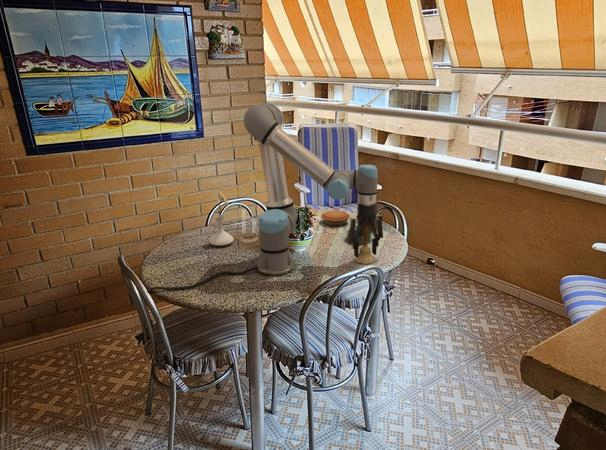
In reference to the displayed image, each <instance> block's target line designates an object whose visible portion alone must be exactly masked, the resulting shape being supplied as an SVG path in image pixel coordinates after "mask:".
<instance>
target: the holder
mask: <svg viewBox="0 0 606 450" xmlns="http://www.w3.org/2000/svg"><path fill="white" fill-rule="evenodd" d="M356 229H357V227H355V231H356ZM349 231H350V228H349V229H347V231H346V241H347V242H348V243H349V244H352V242H350V241H349V240H348V237H349ZM354 234H355V232H354ZM372 236H373V233H372V232H371V231H370V230H369V235H368V238H367V244H369V243H371V242H372ZM363 241H364V238H363V229H362V231H361V233H360V236H359V238H358V241H357V242H358V243H359V245H363Z"/></svg>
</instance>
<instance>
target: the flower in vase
mask: <svg viewBox="0 0 606 450" xmlns="http://www.w3.org/2000/svg"><path fill="white" fill-rule="evenodd" d="M218 195H219V196H220V201H219V203H218V210H217V212H216V215H213V218H214V219H215V221H216V224H217V231H216V232H215V233H214V234H213V235H212V236H211V237H210V238H209V244H211V245H212V246H216V247H224V246H227V245H230V244H232V243H233V242H234V240H235V239H234V237H233V236H232V235H231V234H229V233H227V232H226V231H225V230H224V226H223V224H224V223H223V222H224V218H225V217H226V215H225V214H220V213H222V212H223V208H222V206H221V202H222V201H223V203H224V204H225V205H226V206H230V204H229V201H228V200H227V197H225V195H224V193H222V191H221V190H219V191H218Z"/></svg>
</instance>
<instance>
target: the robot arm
mask: <svg viewBox="0 0 606 450" xmlns="http://www.w3.org/2000/svg"><path fill="white" fill-rule="evenodd" d="M283 122H284V116H283V113H282V110H281V109H280V108H279V107H278V106H277V105H275V104H273V103H269V102H263V103H259V104H254V105H252V106H250V107H249V108H248V109H246V111H245V113H244V115H243V125H244V128H245V130H246V131H247V133H248V134H249V135H251V137H253V140H254V141H255V142H256V143H258V146H259V147H258V148H259V152H260V158H261V164H262V169H263V175H264V181H265V187H266V192H267V199H268V201H267V202H266V204H265V208H266V211H263V212H262V213H261V214H259V216H258V223H257V224H258V234H259V254H258V258H257V262H256V266H254V267H251V268H248V269H245V270H242V271H230V270H229V271H220V272H217V273H214V274H212V275H210V276H209V277H207V278H205V279H203V280H201V281H199V282H197V283H194V284H191V285H185V286H153V287H150V288H148V290H147V291H146V293H147V292H148V293H147V294H149V293H150V292H152V291H155V290H166V291H169V290H170V291H171V290H174V291H175V290H187V289H192V288H196V287H198V286H200V285H202V284H204V283H206V282H208V281H210V280H212V279H214V278H216V277H218V276H220V275H244V274H246V273H248V272H251V271H254V270H257V272H258V273H260V274H261V275H264V276H273V277H274V276H282V275H283V276H284V275H287V274H289V273H291V272H292V271H293V270H294V269H295V262H294V259H293V257H292V256H294V255H295V254H294V252H293V251H292V250H290V241H289V240H290V239H289V235H290V233H291V232H292V230H293V229H294V227H295V226H296V224H297V222H298V218H299V217H298V215H299V214H298V210H297V208H296V207H295V206H294V205H295V204H294V199H292V198H291V197H290V195H289V190H288V184H287V179H286V171H285V165H284V159H286V160H287V161H288V162H290V163H291V164H292V165H293V166H295V167H296V168H297V169H299V171H301V172H303V173H304V174H305V175H306V176H308V177H309V178H311V179H312V180H313V181H314V182H316V183H317V184H318V185H320V186H321V187H322V188H323V189H325V190H326V191H327V194H328V196H329V197H330V199H333V200H335V201H339V200H343V199H345V197H346V196H347V195H348V194H349V192H350V190H357V208H356V209H357V210H356V211H357V213H356V214H357V215H356V216H355V217H350V218H349V221H350V224H349V229H350V231H349V237H348V240H349V241H350V242H352V243H351V245H352V249H353V256H354V257H355V258H356V257H358V255H359V251H360V248H359V247H360V244H359V243H358V242H357V241H358V238H359V236H360V233H361V231H362V229H363V228H364V226H366V225H370V228H371V230H372V232H371V233H372V236H373V238H371V242H372V243H371V254H372V255H374V256H377V249H378V248H379V243H380V242H379V241H381V239H383V238H384V229H383V216H382V215H381V214H377V215H376V204H375V203H376V198H377V192H378V177H379V176H378V167H377V166H376V165H373V164H360V165H359V166H358V169H333V167H331V166H329V164H327V163H325V162H324V160H322V159H321V158H320V157H318V156H317V155H316V154H314V153H313V152H312V151H310V150H309V149H308V148H306V146H304V145H303V144H301V143H300V142H299V141H298V140H297V139H295V138H293V137H292V136H291V135H290V134H288V133H287V132H286V131H285V130H283V129H282V126H283ZM283 158H284V159H283ZM375 219H376V220H377V230H376V228H375V224H374V220H375ZM357 221H359V222H358V223H357ZM357 225H358V226H357ZM355 228H357V229H356V231H355ZM354 232H355V234H354ZM350 242H349V243H350Z"/></svg>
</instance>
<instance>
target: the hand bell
mask: <svg viewBox="0 0 606 450" xmlns="http://www.w3.org/2000/svg"><path fill="white" fill-rule="evenodd" d="M368 235H369V229H368V225H366V226H364V228H363V238H364V241H363V244H362V246H361V247H360V248H359V251H358V257H356V256H355V258H354V261H355V262H356V263H359V264H363V265H369V264H372V263H374V262H375V261H376V259H375V257H374V256H373V254H372V248H371V247H370V246H368V243H367V238H368Z"/></svg>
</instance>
